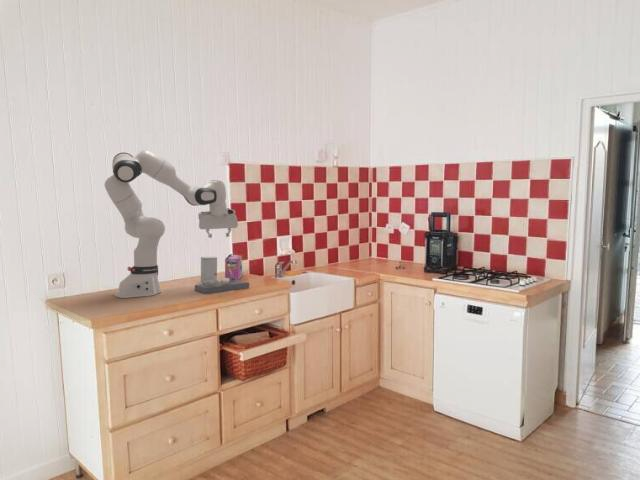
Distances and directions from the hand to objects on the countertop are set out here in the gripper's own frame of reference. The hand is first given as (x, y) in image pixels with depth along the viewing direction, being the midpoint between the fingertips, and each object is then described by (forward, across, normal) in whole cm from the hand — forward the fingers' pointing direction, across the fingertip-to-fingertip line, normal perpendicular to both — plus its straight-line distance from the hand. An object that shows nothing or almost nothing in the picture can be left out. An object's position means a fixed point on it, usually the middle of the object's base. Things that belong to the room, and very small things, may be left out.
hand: (218, 237), depth 262 cm
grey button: (+24, -6, -6) cm, 25 cm away
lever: (+24, +8, +5) cm, 26 cm away
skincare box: (+28, -1, +23) cm, 37 cm away
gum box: (+29, +15, +30) cm, 45 cm away
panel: (+28, +1, -1) cm, 28 cm away
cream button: (+24, +1, -4) cm, 24 cm away
